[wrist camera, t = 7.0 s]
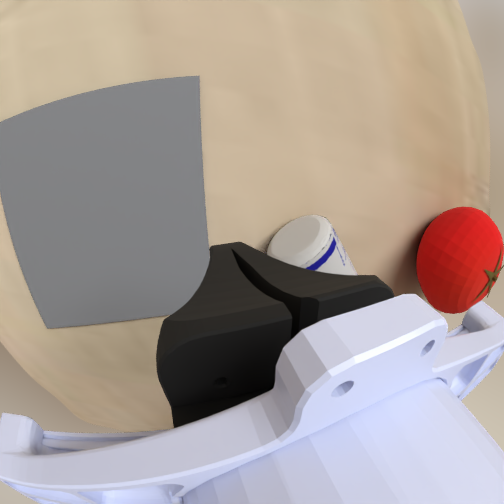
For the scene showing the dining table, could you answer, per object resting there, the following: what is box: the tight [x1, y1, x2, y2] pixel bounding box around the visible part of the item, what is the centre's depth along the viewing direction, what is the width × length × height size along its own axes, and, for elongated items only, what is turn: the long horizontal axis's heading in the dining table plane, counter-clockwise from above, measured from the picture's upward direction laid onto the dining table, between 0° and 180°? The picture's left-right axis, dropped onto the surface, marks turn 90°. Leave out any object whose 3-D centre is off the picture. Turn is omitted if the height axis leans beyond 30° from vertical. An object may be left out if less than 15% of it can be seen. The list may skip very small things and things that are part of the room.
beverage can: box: [267, 215, 358, 275], centre depth 24 cm, size 6×6×15 cm
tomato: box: [417, 207, 504, 314], centre depth 26 cm, size 12×13×11 cm
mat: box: [0, 76, 210, 328], centre depth 18 cm, size 19×17×1 cm
